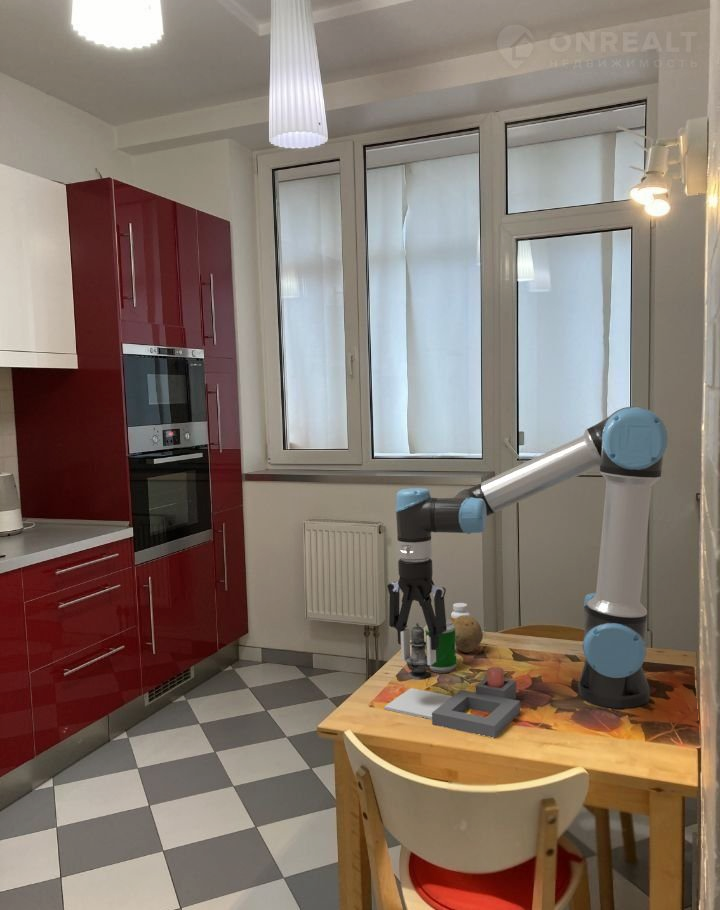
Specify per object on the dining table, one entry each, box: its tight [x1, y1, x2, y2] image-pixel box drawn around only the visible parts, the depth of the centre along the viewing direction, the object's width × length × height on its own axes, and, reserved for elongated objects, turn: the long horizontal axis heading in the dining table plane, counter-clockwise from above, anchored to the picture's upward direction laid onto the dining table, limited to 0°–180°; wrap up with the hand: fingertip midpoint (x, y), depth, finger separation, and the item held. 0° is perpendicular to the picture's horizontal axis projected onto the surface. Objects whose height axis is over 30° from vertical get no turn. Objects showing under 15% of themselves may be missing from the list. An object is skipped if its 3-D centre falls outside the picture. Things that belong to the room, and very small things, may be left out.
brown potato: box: [453, 615, 484, 654], centre depth 200 cm, size 9×9×10 cm
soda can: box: [424, 618, 457, 674], centre depth 188 cm, size 8×8×12 cm
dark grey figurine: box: [405, 622, 432, 681], centre depth 166 cm, size 6×6×12 cm
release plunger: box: [486, 666, 505, 688], centre depth 167 cm, size 4×4×6 cm
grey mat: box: [383, 687, 453, 721], centre depth 167 cm, size 12×12×1 cm
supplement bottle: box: [450, 602, 471, 623], centre depth 211 cm, size 5×5×10 cm
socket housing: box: [431, 676, 521, 739], centre depth 161 cm, size 14×21×4 cm
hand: (418, 660), depth 166 cm, fingers closed on dark grey figurine, 6 cm apart
